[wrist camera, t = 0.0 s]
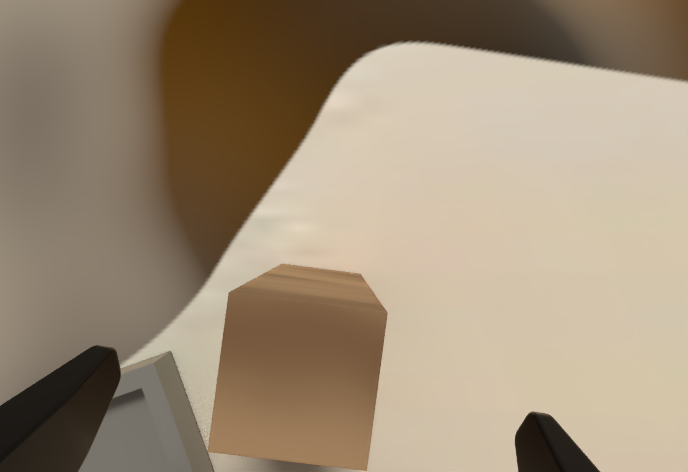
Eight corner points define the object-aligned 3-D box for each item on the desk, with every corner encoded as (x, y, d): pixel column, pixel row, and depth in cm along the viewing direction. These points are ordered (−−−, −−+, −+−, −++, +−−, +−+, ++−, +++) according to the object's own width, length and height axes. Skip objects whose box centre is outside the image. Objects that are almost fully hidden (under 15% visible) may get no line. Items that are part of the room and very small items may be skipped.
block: (350, 352, 24) (366, 470, 12) (271, 342, 24) (207, 452, 12) (360, 274, 24) (387, 313, 12) (282, 263, 24) (228, 292, 12)
